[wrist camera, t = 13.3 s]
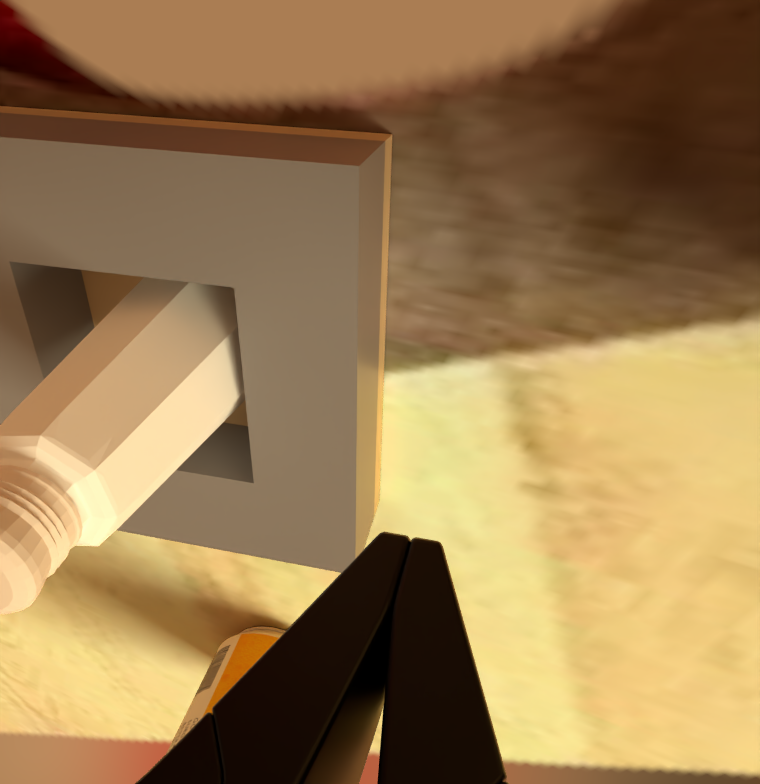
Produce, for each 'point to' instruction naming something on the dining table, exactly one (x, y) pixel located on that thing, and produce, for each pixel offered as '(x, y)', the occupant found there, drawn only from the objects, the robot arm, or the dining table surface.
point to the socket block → (252, 296)
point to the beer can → (227, 672)
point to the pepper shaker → (113, 425)
